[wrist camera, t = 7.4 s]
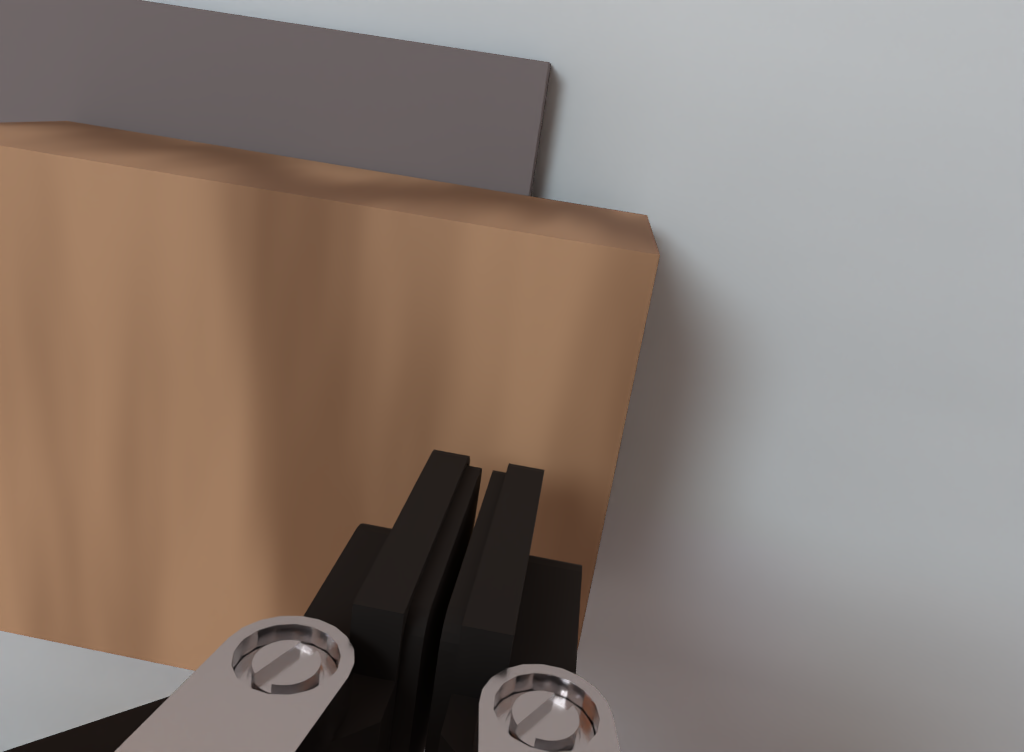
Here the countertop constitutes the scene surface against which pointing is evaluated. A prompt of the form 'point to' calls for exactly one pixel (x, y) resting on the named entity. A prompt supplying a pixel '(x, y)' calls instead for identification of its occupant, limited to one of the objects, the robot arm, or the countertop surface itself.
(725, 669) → the countertop surface
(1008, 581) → the countertop surface
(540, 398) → the slab
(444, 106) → the mat
